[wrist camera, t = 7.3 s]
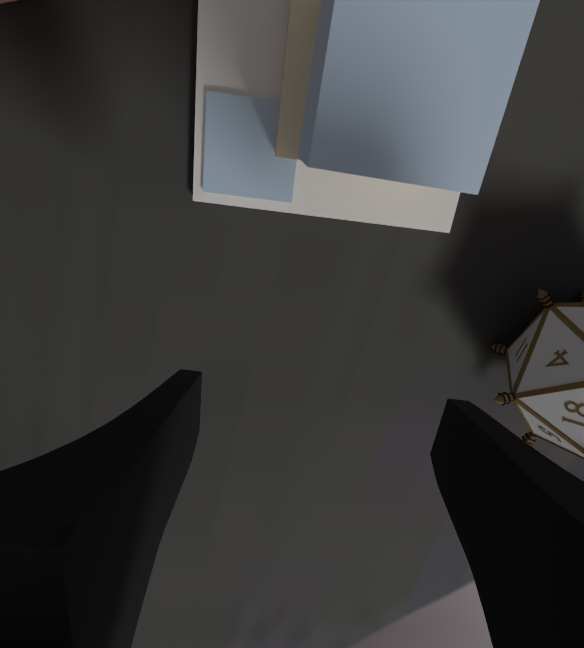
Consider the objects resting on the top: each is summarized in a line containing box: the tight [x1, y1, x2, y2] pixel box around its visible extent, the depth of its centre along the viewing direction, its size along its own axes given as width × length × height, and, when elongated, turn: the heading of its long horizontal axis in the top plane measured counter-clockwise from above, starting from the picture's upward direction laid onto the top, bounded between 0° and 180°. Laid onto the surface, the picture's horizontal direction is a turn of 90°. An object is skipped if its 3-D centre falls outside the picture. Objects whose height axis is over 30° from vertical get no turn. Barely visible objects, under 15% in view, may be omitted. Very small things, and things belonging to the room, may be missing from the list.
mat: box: [193, 0, 460, 233], centre depth 18 cm, size 12×12×1 cm
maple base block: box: [275, 0, 322, 160], centre depth 16 cm, size 7×7×4 cm
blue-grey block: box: [298, 0, 540, 195], centre depth 12 cm, size 4×4×5 cm
